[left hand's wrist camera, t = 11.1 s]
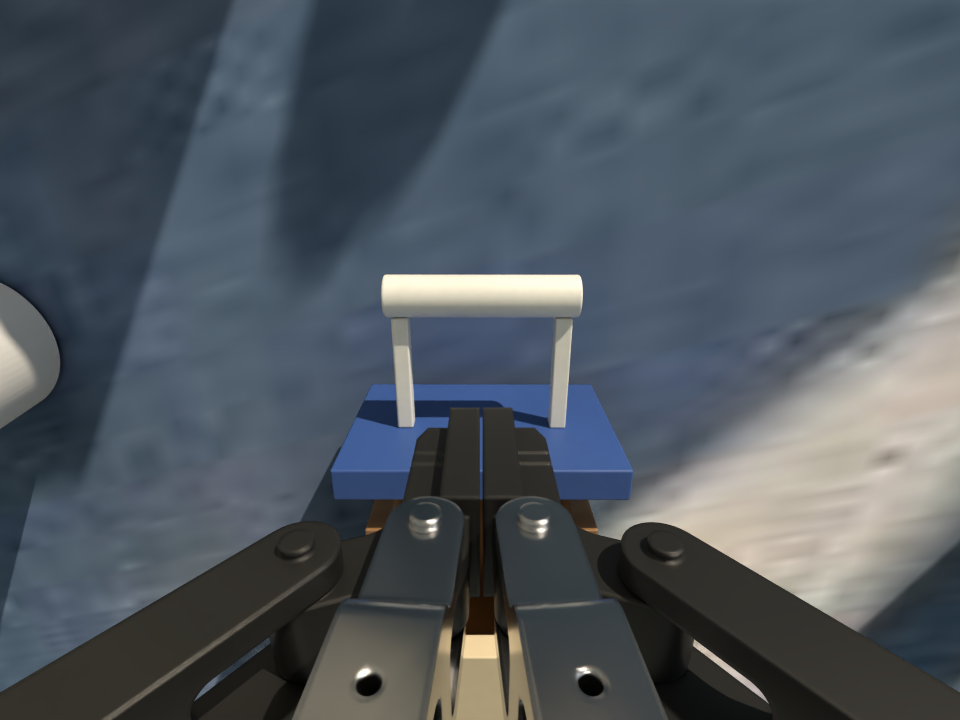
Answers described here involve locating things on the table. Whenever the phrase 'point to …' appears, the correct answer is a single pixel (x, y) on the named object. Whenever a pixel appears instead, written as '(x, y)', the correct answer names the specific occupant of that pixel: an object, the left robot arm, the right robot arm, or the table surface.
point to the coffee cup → (24, 356)
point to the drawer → (481, 405)
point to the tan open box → (479, 681)
